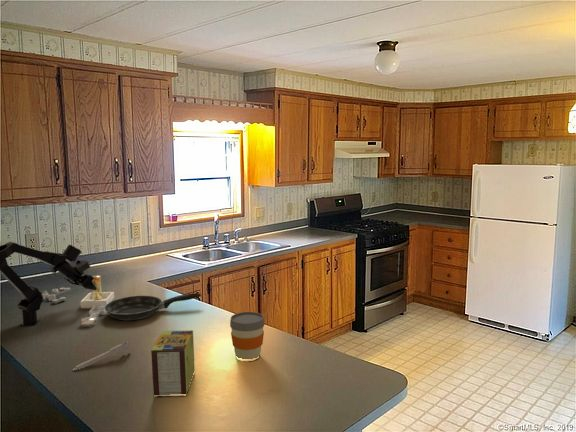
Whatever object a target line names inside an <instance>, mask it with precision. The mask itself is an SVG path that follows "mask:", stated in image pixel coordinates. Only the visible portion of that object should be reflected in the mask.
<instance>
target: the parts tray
mask: <svg viewBox="0 0 576 432" xmlns="http://www.w3.org/2000/svg"><path fill="white" fill-rule="evenodd" d="M114 299H115V292H114V291H106V292H105V291H102V300H95V301H93V292H89V293H88V294H86V296H85V297H83V298H82V300H80V309H92V308H93V307H94V306H106V305H107V304H108V303H110V302H112V301H114Z"/></svg>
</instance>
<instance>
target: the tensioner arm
mask: <svg viewBox="0 0 576 432" xmlns="http://www.w3.org/2000/svg"><path fill="white" fill-rule="evenodd" d="M107 313H108V312H107V311H106V310H105V306H94V307H93V308H90V310H89V311H88V316H86V317H83V318H81V320H80V322H81V327H82V326H83V328H91V327H94V326H96V325H97V320H98V319H99V317H100V316H105V315H106V314H107ZM97 318H98V319H97ZM95 324H96V325H95ZM93 325H94V326H93ZM90 326H91V327H90Z"/></svg>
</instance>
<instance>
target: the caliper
mask: <svg viewBox="0 0 576 432" xmlns="http://www.w3.org/2000/svg"><path fill="white" fill-rule="evenodd" d="M121 342H122V343H120V344H117V345H116V346H113V347H112V348H110V349H109V350H107V351H106V352H103V353H101V354H99V355H97V356H95V357H93V358H90V359H89V360H86V361H84V362H82V363H79V364H78V365H76V366H75V367H74V368H72V371H73V372H74V370H75V371H79V370H81V368H82V369H85V368H86V367H89V366H91V365H94V364H95V363H97V362H99V361H101V360H103V359H105V358H108V357H110V356H112V357H114V356H116V355H118V354H119V353H122V355H123V356H124V355H126V356H127V353H128V354H129V353H131V354H132V351H131V344H130V342H129V341H127V339H126V338H125V339H124V341H121ZM125 349H126V350H127V353H126V350H125ZM78 369H79V370H78Z"/></svg>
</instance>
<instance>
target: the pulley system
mask: <svg viewBox="0 0 576 432" xmlns="http://www.w3.org/2000/svg"><path fill="white" fill-rule="evenodd" d="M70 291H71V287H60V288H59V289H58V288H53V289H51V292H52V293H48V291H47V290H41V291H40V290H39V292H41V293H43V294H41V295H42V296H43V300H48V301H49V302H50V301H51V302H52V304H55V305H56V304H58V303H60V302H63V301H66V300H67V299H66V296H59V295H61V294H64V293H66V292H67V293H68V292H70Z"/></svg>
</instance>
